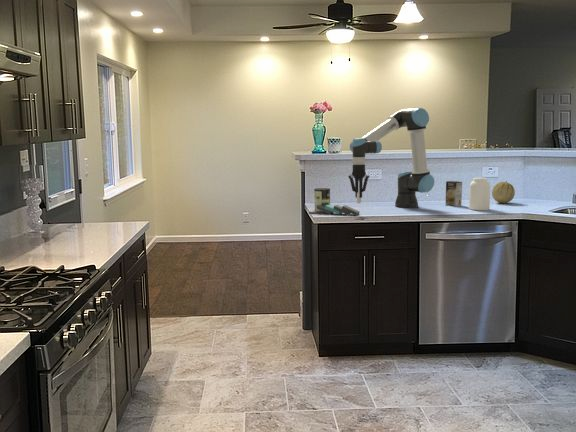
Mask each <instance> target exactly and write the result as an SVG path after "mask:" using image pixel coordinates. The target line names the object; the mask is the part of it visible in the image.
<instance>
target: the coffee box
mask: <svg viewBox="0 0 576 432" xmlns="http://www.w3.org/2000/svg"><path fill="white" fill-rule="evenodd" d="M462 198H463V181H460V180H458V181H457V180H446V181H445V206H451V207H459V206H462Z"/></svg>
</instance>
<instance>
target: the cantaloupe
mask: <svg viewBox="0 0 576 432" xmlns="http://www.w3.org/2000/svg"><path fill="white" fill-rule="evenodd" d="M491 190H492V191H491V196H492V197H493V200H494V201H495V202H497V203H499V204H507V203H510V202H511V201H513V199H514V198H515V194H516V190H515V187H514V186H513V184H511V183H509V182H508V181H507V180H505V181H499V182H496V184H495V185H493V187H492V189H491Z"/></svg>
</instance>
